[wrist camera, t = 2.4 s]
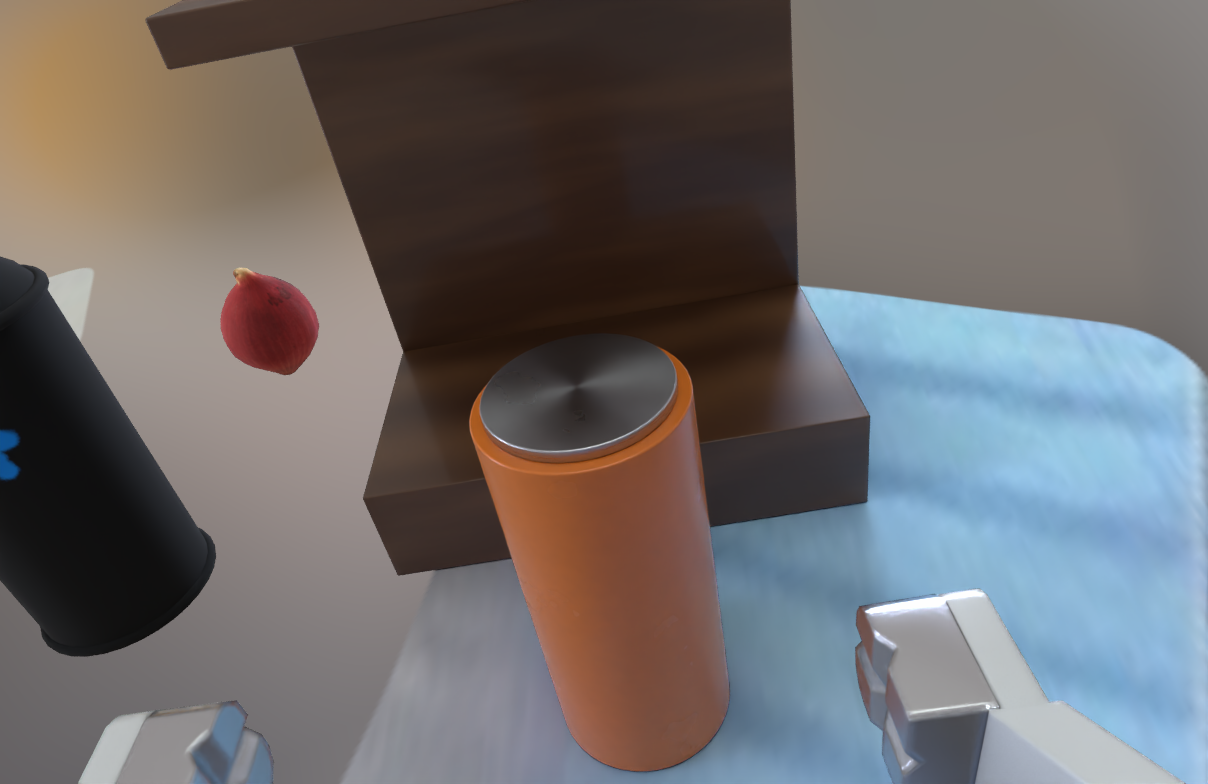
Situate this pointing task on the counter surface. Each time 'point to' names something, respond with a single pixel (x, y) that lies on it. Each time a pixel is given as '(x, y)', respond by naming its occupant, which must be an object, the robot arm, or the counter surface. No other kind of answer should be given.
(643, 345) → the can
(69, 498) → the aerosol can
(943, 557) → the counter surface
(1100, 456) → the counter surface
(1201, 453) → the counter surface
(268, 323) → the onion
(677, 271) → the shelf
